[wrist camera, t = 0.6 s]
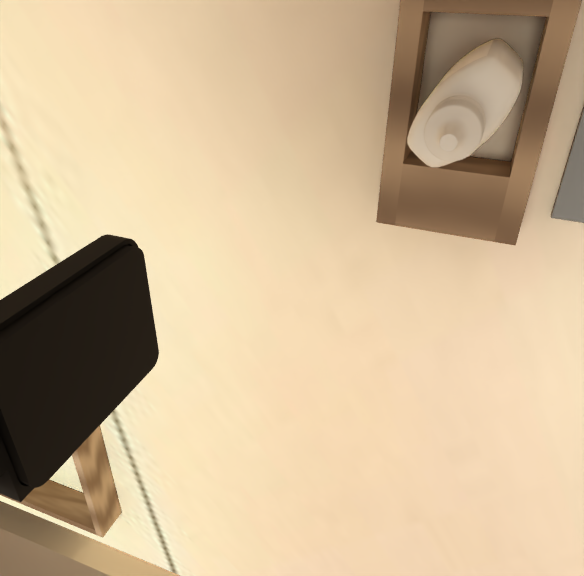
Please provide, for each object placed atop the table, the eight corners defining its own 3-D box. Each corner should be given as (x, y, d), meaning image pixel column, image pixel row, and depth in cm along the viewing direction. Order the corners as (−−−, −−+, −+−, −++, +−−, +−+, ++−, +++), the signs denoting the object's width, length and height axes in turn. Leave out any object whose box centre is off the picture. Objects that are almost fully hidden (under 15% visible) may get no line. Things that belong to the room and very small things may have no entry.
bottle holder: (420, -80, 27) (409, -85, 25) (597, -82, 25) (605, -87, 22) (386, 205, 36) (376, 222, 33) (516, 225, 33) (515, 245, 31)
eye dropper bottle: (415, 67, 31) (365, 111, 21) (516, 29, 28) (512, 60, 19) (434, 138, 32) (396, 209, 23) (532, 109, 30) (535, 175, 20)
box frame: (-30, 360, 66) (-58, 380, 63) (93, 400, 61) (69, 424, 57) (14, 470, 77) (-8, 491, 74) (121, 512, 72) (102, 537, 68)
